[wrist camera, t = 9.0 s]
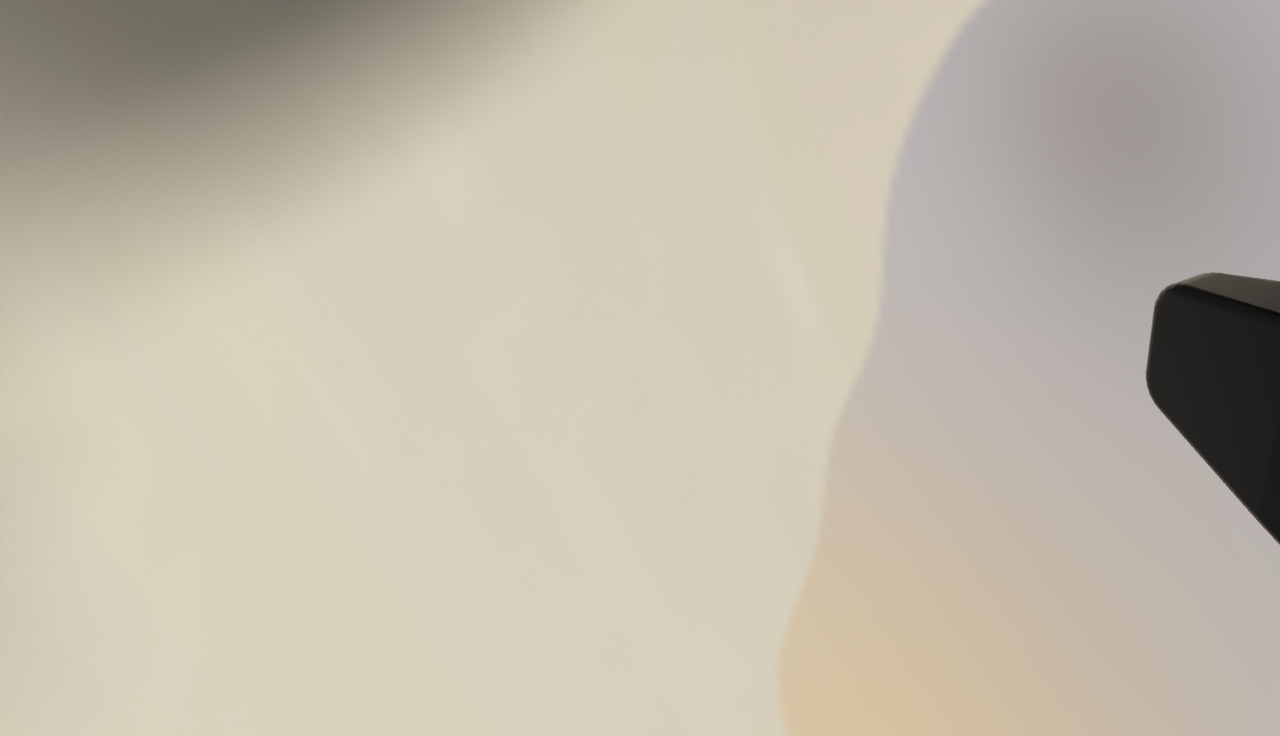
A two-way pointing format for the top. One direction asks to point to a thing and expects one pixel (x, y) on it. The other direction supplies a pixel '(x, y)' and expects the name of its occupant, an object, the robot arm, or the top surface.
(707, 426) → the top surface
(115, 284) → the top surface
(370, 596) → the top surface
